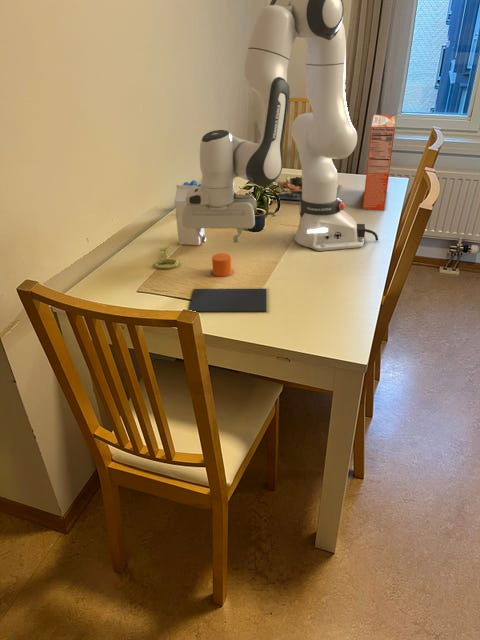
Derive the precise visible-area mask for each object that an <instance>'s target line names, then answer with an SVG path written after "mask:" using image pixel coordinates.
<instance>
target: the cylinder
mask: <svg viewBox="0 0 480 640" xmlns="http://www.w3.org/2000/svg"><path fill="white" fill-rule="evenodd" d="M211 262H212V263H211V265H212V274H213V275H214V276H216V277H222V278H223V277H227V276H230V275H231V274H232V256H231V255H230V254H228V253H226V252H220V253H219V252H218V253H215V254H213V255H212V256H211Z"/></svg>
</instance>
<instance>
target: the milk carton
mask: <svg viewBox="0 0 480 640" xmlns="http://www.w3.org/2000/svg"><path fill="white" fill-rule="evenodd" d="M195 188H198V186H192V185H183V184H176V190H175V196H174V209H175V219H176V226H177V227H176V230H177V241H178V245H189V246H190V245H191V246H200V245H201V244H202V243H201V242H200V237H199V236H198V234H197V233H196V228H185V227H184V226H183V221H182V217H183V209H184V206H185V204H186V201H185V197H186V194H187V192H188V191H189V190H192V189H195ZM201 232H202V234H203V235H205V228H201Z"/></svg>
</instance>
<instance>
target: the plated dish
mask: <svg viewBox="0 0 480 640" xmlns="http://www.w3.org/2000/svg"><path fill="white" fill-rule="evenodd" d="M273 184H279V187H278V188H277V189H275V190H270V189H266V190H267V191H273V192H276V193H277V194H278V196H279V198H280V203H281V204H293V205H300V198H301V197H302V175H300V176H295V177H293V178H292V177H291V178H290V177H289V176H288V175H287V176H286V177H285V181H277V179H276V180H275V181H274V182H273ZM339 188H340V185H338V186H337V191H338V190H339ZM272 199H273V201H272V202H271V203H278V202H277V201H276V198H275V197H272Z"/></svg>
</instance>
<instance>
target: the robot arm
mask: <svg viewBox="0 0 480 640" xmlns="http://www.w3.org/2000/svg"><path fill="white" fill-rule="evenodd" d="M344 12H345V6H344V1H343V0H270V2H269V5H268V6H265V7H264V8H263V9H261V10H260V12H259V14H258V16H257V19H256V20H255V24H254V26H253V29H252V32H251V34H250V39H249V42H248V46H247V51H246V54H245V58H244V66H243V76H244V78H245V80H246V81H245V82H247V84H248V86H249V87H250V88H251V90H252V91H254V93H256V94H257V96H258V97H259V98H260V99H261V101H262V105H263V120H262V126H261V134H260V140H259V142H258V143H257V142H253V141H250V140H246V139H242V138H241V137H238V136H235V135H233V134H231V133H230V131H228V130H225V129H217V130H212V131H208V132H206V133H205V134H204V135H202V137H201V140H200V145H199V169H200V172H201V181H200V184H201V187H198V188H195V189H192V190H189V191H188V192H187V194H186V197H185V201H186V204H185V206H184V209H183V217H182V221H183V226H184V227H185V228H196V233H197V234H198V236H199V237H200V242H201V243H200V244H202V243H207V234H204V235H203V234H202V232H201V228H204V229H236V230H237V231H236V232H237V233H236V234H233V239H232V240H233V244H239V243H240V236H241V235H242V233H243V229H253V228H254V227H255V226H256V217H255V215H256V214H255V210H256V208H257V201H256V199H255V198H254V197H253V196H251V195H250V194H248V193H247V194H241V193H240V194H237V193H236V194H235V178H238V177H239V178H240V179H244V180H246V181H249V182H251V183H252V184H254V185H256V186H257V187H258V186H261V187H265V186H268V185H270V184H272V183H273V182H274V181H275V180H276V181H277V180H278V179H279V177H280V175H281V173H282V171H283V164H284V157H283V153H284V151H283V150H284V141H285V136H286V135H285V134H286V127H287V120H288V113H289V107H290V98H291V97H290V95H291V94H290V93H291V91H290V85H289V83H288V67H289V64H290V59H291V56H292V49H293V45H294V42H295V40H296V39H297V38H304V40H305V44H306V52H305V77H304V79H305V81H304V93H305V97H306V99H307V101H308V102H309V105H310V107H311V112H306V113H302V114H299V115H298V116H296V118H295V119H294V120H293V122H292V125H291V128H290V135H291V138H292V140H293V142H294V144H295V146H296V149H297V153H298V158H299V163H300V168H301V169H300V170H301V177H302V197H301V198H300V204H299V222H298V228H297V232H296V235H295V238H294V240H295V242H296V243H297V244H299V245H300V246H303V247H307V248H309V249H310V248H311V249H312V250H314V251H317V252H322V251H323V252H324V251H335V250H345V249H356V248H357V249H358V248H362V247H363V246H364V244H365V235H366V233H367V234H368V233H369V234H372V235H373V236H374V239H375V242H377V241H379V236H378V234H377V233H376V232H375V231H373V230H371V229H367V228H366V224H365V223H357V221H356V220H355V218H354V217H353V216H351V215H350V214H349V213H348V212H346V211H344V210H345V209H346V206H347V205H346V204H345V202H343V200H342V199H341V198H340V197H337V196H338V190H337V186H339V185H338V184H339V173H338V170H337V169H336V166H335V165H334V161H333V160H342V159H346V158H348V157H349V156H351V154H352V153H353V152H354V151H355V149H356V146H357V143H358V133H357V130H356V128H355V127H354V126H353V124H352V122H351V119H350V116H349V111H348V107H347V106H348V105H347V101H346V92H345V89H346V84H345V83H346V62H347V39H346V32H345V30H346V29H345V25H344V22H343V19H344Z"/></svg>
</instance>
